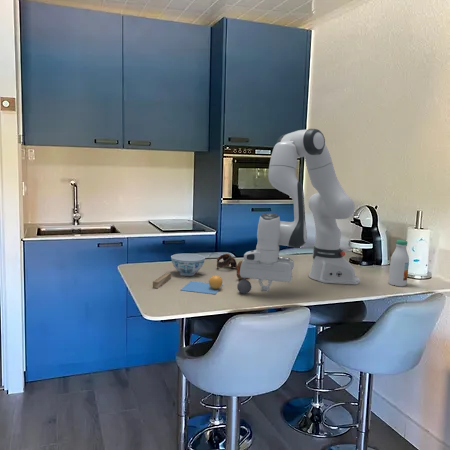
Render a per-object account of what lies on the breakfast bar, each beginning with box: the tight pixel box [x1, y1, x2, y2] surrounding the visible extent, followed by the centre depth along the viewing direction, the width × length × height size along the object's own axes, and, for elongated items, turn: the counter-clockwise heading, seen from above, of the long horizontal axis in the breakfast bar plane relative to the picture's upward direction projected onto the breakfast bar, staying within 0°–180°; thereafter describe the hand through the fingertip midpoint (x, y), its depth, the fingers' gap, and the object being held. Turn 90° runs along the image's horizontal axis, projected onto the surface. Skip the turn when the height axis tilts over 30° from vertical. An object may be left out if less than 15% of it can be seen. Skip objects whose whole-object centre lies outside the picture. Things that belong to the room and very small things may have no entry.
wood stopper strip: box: [152, 272, 172, 289], centre depth 185 cm, size 2×16×2 cm, turn 168°
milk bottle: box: [388, 239, 410, 287], centre depth 202 cm, size 8×8×20 cm
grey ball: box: [236, 279, 252, 295], centre depth 176 cm, size 6×6×6 cm
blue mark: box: [180, 280, 224, 295], centre depth 182 cm, size 14×14×1 cm
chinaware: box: [170, 253, 206, 277], centre depth 202 cm, size 15×15×8 cm
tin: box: [236, 260, 250, 281], centre depth 201 cm, size 15×3×8 cm, turn 148°
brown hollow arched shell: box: [216, 253, 238, 271], centre depth 217 cm, size 12×10×8 cm
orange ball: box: [208, 274, 223, 289], centre depth 180 cm, size 6×6×6 cm
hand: (264, 290), depth 177 cm, fingers closed
